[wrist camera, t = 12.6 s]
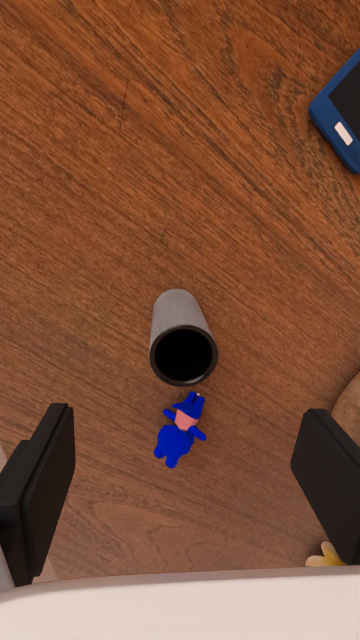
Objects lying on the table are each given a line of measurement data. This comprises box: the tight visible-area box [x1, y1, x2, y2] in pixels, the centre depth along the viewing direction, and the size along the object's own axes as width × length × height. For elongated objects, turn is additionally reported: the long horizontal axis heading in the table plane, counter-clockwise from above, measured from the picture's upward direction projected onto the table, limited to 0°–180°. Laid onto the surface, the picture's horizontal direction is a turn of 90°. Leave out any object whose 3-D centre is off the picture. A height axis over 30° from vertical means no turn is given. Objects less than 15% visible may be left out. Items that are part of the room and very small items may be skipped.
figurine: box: [154, 392, 206, 468], centre depth 29 cm, size 5×8×5 cm, turn 164°
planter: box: [149, 289, 218, 387], centre depth 23 cm, size 4×4×10 cm
